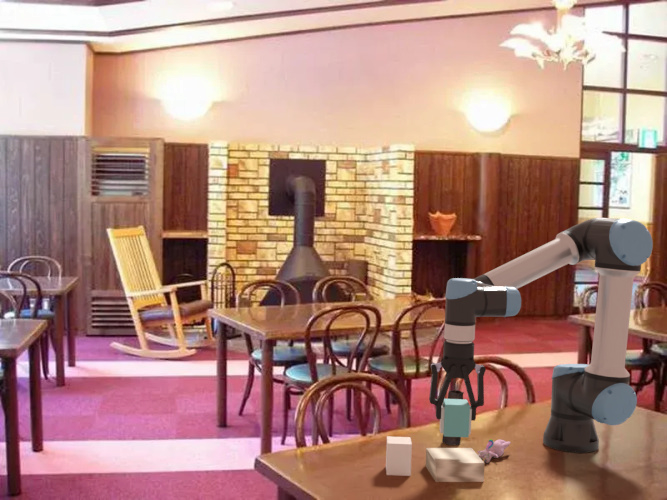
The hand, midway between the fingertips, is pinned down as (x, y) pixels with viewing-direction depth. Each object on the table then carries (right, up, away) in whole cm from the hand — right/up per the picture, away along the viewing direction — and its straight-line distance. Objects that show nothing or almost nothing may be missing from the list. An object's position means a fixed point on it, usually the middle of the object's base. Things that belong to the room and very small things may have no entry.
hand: (455, 432), depth 208 cm
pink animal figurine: (+12, -10, +14) cm, 21 cm away
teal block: (0, 0, 0) cm, 0 cm away
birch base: (0, -11, +1) cm, 11 cm away
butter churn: (+4, -9, +26) cm, 27 cm away
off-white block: (-14, -10, +1) cm, 17 cm away
